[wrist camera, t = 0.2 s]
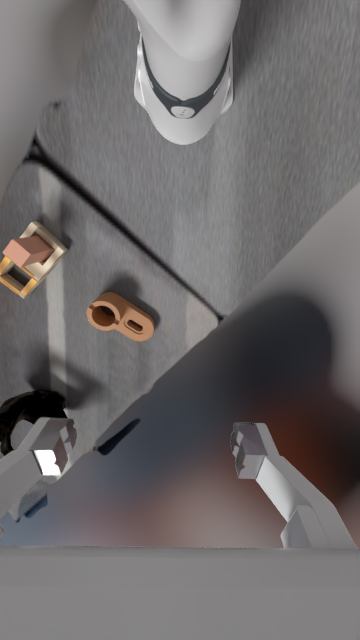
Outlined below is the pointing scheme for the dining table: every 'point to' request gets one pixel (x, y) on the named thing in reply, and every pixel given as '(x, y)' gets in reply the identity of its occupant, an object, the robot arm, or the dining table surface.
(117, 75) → the dining table surface
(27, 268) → the peg board
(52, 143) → the dining table surface
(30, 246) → the terracotta peg
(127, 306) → the bracket
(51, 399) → the pottery vessel
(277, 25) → the dining table surface
